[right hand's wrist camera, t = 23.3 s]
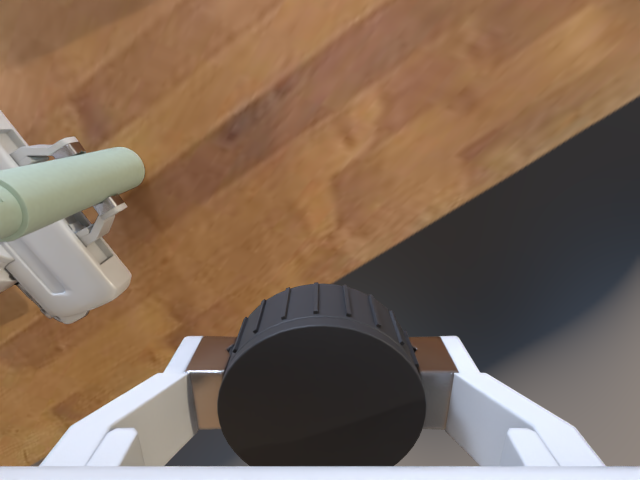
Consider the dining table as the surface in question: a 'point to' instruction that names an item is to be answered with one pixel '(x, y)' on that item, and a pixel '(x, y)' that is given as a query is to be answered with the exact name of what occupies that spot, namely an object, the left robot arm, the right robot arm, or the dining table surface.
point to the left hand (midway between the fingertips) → (98, 173)
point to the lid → (321, 382)
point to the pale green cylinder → (63, 188)
